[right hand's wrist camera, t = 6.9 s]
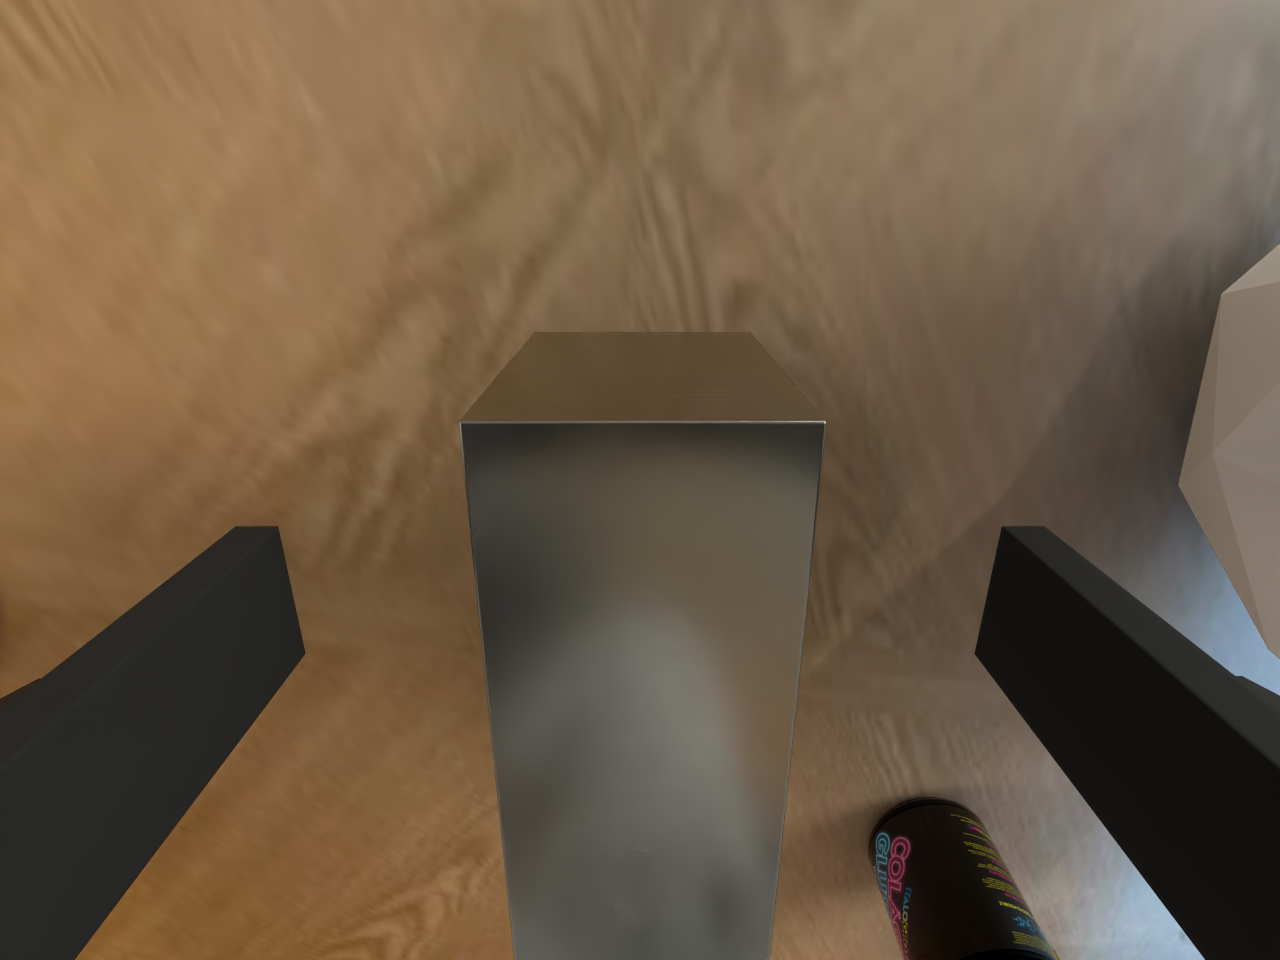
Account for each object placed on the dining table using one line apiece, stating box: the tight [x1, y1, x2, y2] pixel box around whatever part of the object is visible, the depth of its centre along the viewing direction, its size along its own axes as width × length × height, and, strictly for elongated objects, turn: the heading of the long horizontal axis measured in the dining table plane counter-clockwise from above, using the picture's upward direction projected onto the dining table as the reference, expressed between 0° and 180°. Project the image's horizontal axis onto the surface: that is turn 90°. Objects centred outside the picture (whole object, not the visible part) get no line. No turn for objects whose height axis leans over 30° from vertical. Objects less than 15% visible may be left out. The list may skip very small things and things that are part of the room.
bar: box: [459, 332, 826, 960], centre depth 20 cm, size 26×6×8 cm, turn 0°
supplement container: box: [868, 797, 1057, 960], centre depth 34 cm, size 7×7×10 cm
